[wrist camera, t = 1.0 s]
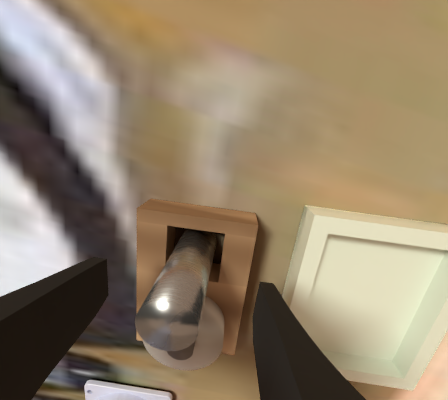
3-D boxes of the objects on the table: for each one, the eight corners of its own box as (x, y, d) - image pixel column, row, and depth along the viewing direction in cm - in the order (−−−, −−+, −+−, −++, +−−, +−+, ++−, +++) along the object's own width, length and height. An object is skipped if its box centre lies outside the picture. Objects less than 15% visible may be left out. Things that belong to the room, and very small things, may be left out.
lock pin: (214, 256, 15) (195, 355, 8) (181, 252, 15) (135, 346, 8) (218, 226, 14) (201, 305, 7) (183, 221, 14) (135, 296, 7)
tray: (394, 364, 16) (413, 390, 15) (269, 344, 17) (273, 368, 15) (463, 226, 13) (498, 240, 11) (304, 205, 13) (314, 215, 12)
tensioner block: (234, 330, 16) (233, 388, 13) (148, 317, 17) (121, 371, 13) (255, 213, 14) (262, 242, 10) (150, 198, 14) (117, 221, 10)
